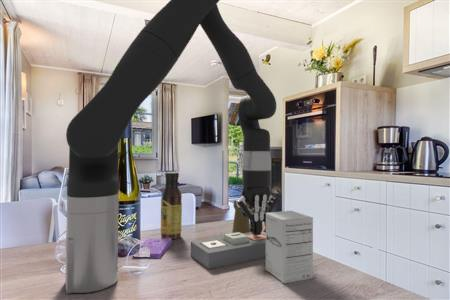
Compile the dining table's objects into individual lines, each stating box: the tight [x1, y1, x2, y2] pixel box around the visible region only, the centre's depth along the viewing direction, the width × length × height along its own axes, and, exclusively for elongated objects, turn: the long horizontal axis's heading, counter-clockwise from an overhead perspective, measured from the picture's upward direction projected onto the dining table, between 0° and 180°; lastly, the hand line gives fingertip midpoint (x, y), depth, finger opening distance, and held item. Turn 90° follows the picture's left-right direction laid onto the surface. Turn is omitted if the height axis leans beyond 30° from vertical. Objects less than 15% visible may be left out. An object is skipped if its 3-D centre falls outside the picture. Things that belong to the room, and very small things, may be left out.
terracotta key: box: [247, 235, 266, 241], centre depth 76 cm, size 4×4×2 cm
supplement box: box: [265, 210, 314, 284], centre depth 61 cm, size 7×7×13 cm
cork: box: [231, 198, 251, 234], centre depth 93 cm, size 6×6×11 cm
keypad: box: [190, 232, 266, 270], centre depth 73 cm, size 20×10×4 cm, turn 120°
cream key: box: [201, 240, 226, 249], centre depth 70 cm, size 4×4×2 cm
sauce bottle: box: [160, 171, 183, 240], centre depth 89 cm, size 7×6×20 cm
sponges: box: [136, 237, 173, 259], centre depth 77 cm, size 7×13×2 cm, turn 177°
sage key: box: [223, 232, 248, 245], centre depth 73 cm, size 4×4×2 cm
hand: (256, 234), depth 76 cm, fingers closed
